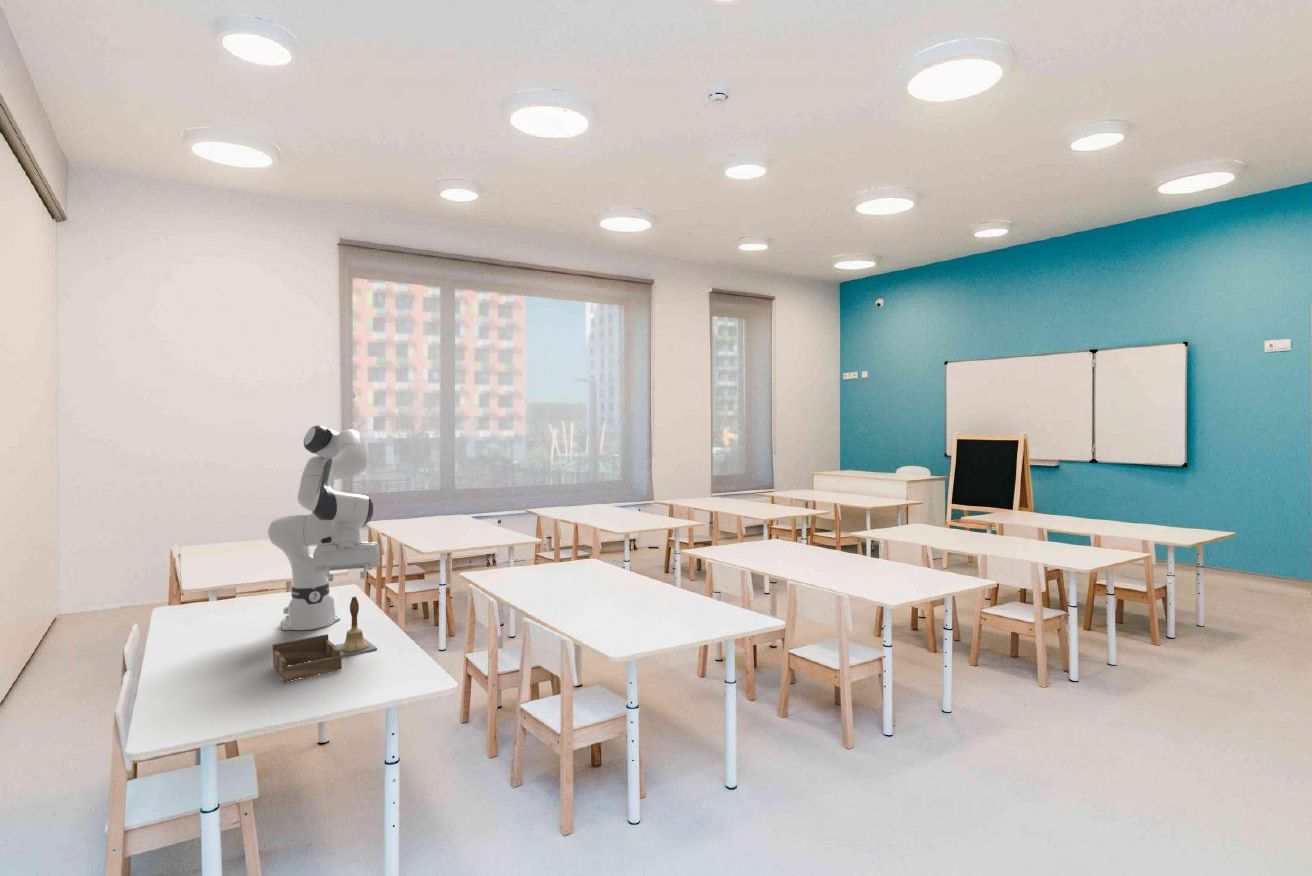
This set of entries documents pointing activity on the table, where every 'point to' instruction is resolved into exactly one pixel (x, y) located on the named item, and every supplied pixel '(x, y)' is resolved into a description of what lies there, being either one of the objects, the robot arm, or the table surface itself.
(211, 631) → the table surface
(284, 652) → the open wooden box
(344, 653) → the slate mat
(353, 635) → the hand bell
